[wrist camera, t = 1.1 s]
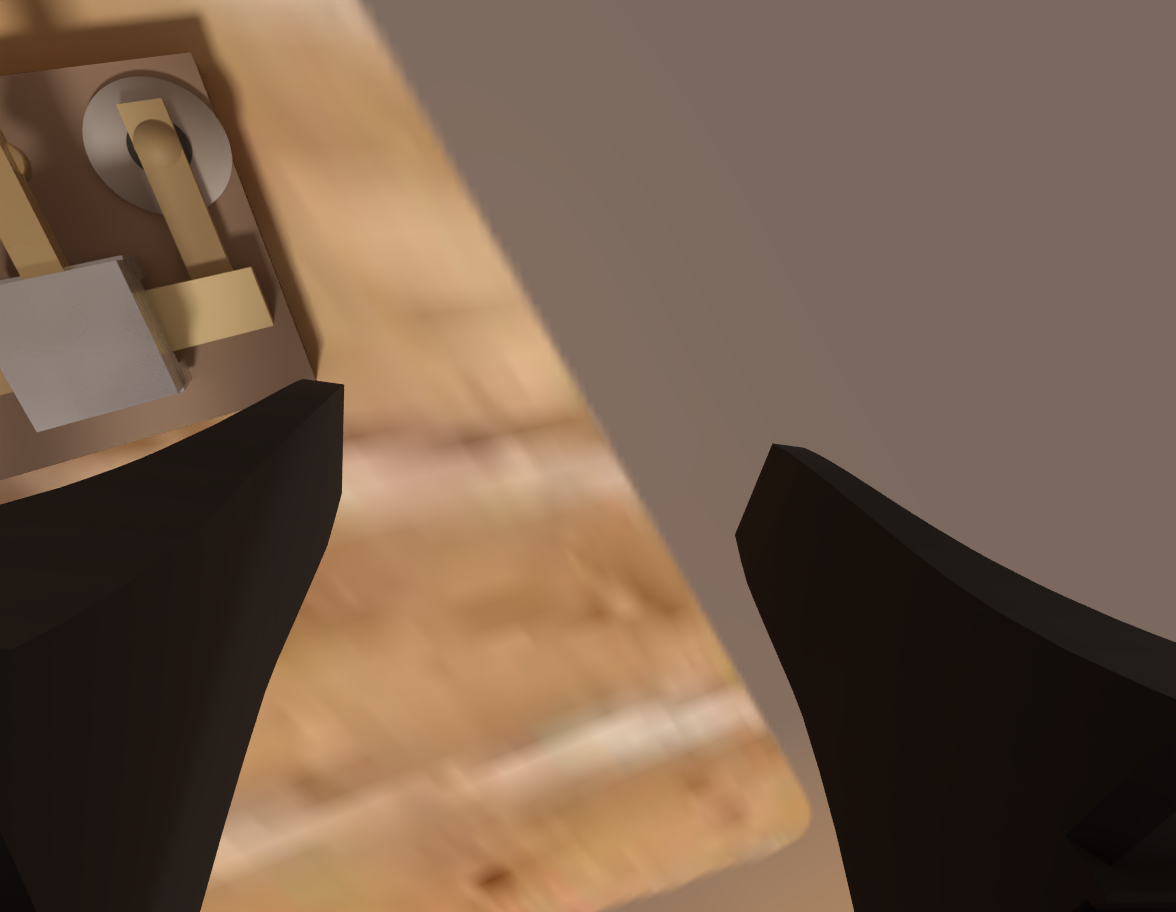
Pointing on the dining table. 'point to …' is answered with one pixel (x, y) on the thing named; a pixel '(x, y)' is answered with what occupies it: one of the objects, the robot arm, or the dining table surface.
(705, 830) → the dining table surface
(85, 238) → the wooden mechanism board
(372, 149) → the dining table surface
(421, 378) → the dining table surface
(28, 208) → the sliding leg
